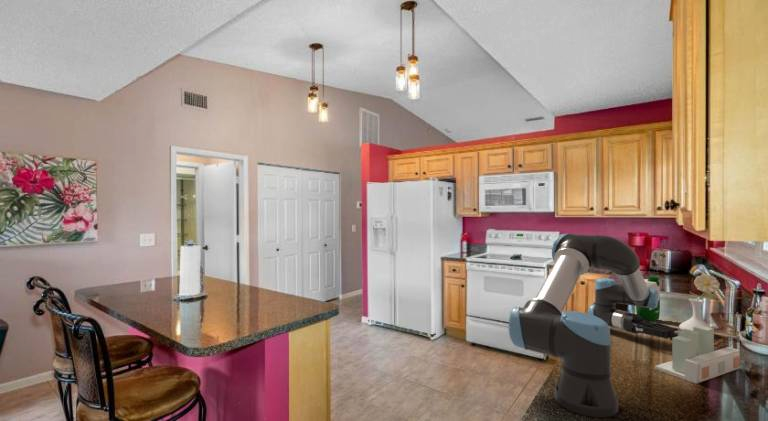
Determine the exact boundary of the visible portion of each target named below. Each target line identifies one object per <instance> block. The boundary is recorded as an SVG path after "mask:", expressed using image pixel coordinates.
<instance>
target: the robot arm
mask: <svg viewBox="0 0 768 421" xmlns="http://www.w3.org/2000/svg"><path fill="white" fill-rule="evenodd" d="M551 257H552V260H553V262H554V265H553V266H552V268H551V270H550V271H549V273H548V274H547V277H546V278H545V280H544V282H543V283H542V286H541V287H540V289H539V291H538V292H537V294H536V296H535V298H531V299H528V300H527V301H526V303H525V304H524V306H523V307H520V306H515V307H513V308H511V311H510V313H509V317H508V335H509V339H510V341H511V342H512V344H513V345H514V346H515V347H518V348H521V349H523V350H525V351H530V352H534V353H539V354H542V355H545V356H550V357H553V358H558V359H560V360H561V371H560V373H559V376H558V378H557V381H556V384H555V387H554V398H555V401H556V402H557V403H558V404H559V405H560V406H561V407H563V408H564V409H567V410H568V411H570V412H573V413H576V414H579V415H582V416H586V417H591V418H610V417H613V416H616V415H618V414H617V413H618V412H619V399H618V397H617V395H616V391H615V389H614V385H613V382H612V379H611V378H612V377H611V368H612V367H611V359H612V358H611V356H612V355H611V354H612V353H611V351H612V348H611V346H612V339H611V329H610V327H611V328H615V329H619V331H625V332H627V333H628V332H629V333H632V334H635V335H636V334H643V335H649V336H652V337H653V336H654V337H657V338H662V339H669V341H672V338H673V337H677V336H678V331H679V329H678V327H673V326H670V325H667V324H663V323H660V322H659V321H655V322H653V321H648V320H643V319H642V317H641V316H640V315H637V314H636V313H632V312H630V311H628V312H625V311H621V310H617V309H615V306H616V303H620V304H626V305H628V306H634V307H636V306H639V307H645V308H656V307H657V305H658V292H657V291H656V290H654V289H650V288H649V289H648V287H647V285H646V283H645V280H644V279H645V278H644V276H643V274H642V271H641V269H640V264H641V262H640V259H639V256H638V254H637V253H636V252H635V251H634V249H633V248H632V247H630V246H629V245H628V244H627V243H625V242H624V241H622V240H621V239H618V238H616V237H613V236H609V235H605V234H604V235H603V234H602V235H600V234H599V235H598V234H581V233H580V234H579V233H562V234H559V235H558V236H557V237H556V238H555V239H554V242H553V243H552V248H551ZM590 268H591V269H601V270H609V271H611V272H612V274H615V275H616V276H617V278H618V280H619V282H620V283H621V284H617V282H616V280H615V279H612V278H606V277H599V278H596V279H595V287H594V296H595V297H594V304H591V305H590V306H589V309H588V310H587V312H581V311H574V310H565V311H564V309H565V307H566V305H567V303H568V301H569V299H570V297H571V295H572V293H573V290H574V288H575V286H576V284H577V282H578V281H579V278H580V277H581V276H582V275H585V274H586V273H588V271H589V269H590Z"/></svg>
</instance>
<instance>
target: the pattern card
mask: <svg viewBox="0 0 768 421" xmlns="http://www.w3.org/2000/svg"><path fill="white" fill-rule="evenodd" d="M739 366H740V367H741V355H740V356H739V353H738V352H737V353H734V354H731V355H728V356H725V357H721V358H718V359H715V360H712V361H709V362H706V363H702V364H699V381H700V383H702V381H703V382H705V381H709V380H711V379H714V378H716V376H717V377H720V376H722V375H725V374H728V373H730V372H733V370H734V371H736V369H737V370H740V368H739ZM719 375H720V376H719ZM713 377H714V378H713Z"/></svg>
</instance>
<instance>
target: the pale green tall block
mask: <svg viewBox="0 0 768 421" xmlns="http://www.w3.org/2000/svg"><path fill="white" fill-rule="evenodd" d="M671 341H672V342H671V343H672V344H671V345H672V348H671V349H672V350H671V351H672V352H671V353H672V354H671V355H672V357H671V358H672V360H671V361H672V369H674V370H676V371H679V372H682V373H685V360H686V359H690V358H693V357H694V340H693V339H690V338H686V337H682V336H677V337H673V338H672V340H671Z"/></svg>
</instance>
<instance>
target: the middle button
mask: <svg viewBox="0 0 768 421" xmlns="http://www.w3.org/2000/svg"><path fill="white" fill-rule="evenodd" d="M678 336H682V337H686V338H690V339H693V340H694V357H696V356H699V333H698V332H694V331H690V330H687V329H683V330H681V329H680V330H679V329H678Z"/></svg>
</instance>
